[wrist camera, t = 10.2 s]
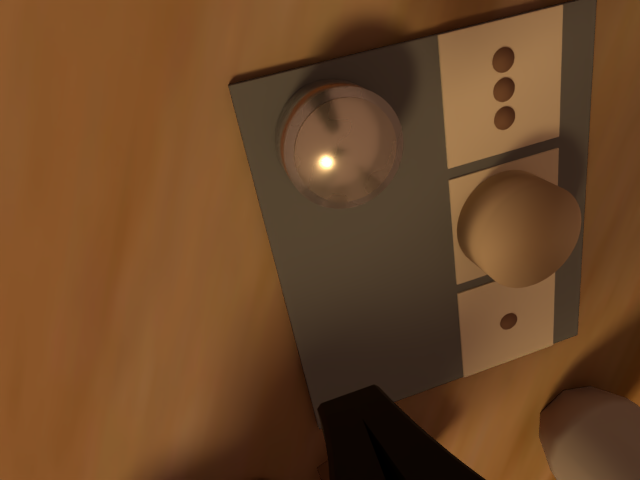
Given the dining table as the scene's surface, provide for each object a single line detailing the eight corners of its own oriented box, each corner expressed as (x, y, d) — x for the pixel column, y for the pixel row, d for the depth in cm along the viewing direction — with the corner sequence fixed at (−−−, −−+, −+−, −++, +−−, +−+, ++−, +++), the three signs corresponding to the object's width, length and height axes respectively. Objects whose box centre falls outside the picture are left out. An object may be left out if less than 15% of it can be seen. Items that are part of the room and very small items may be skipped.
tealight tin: (345, 207, 20) (363, 228, 18) (253, 159, 18) (262, 177, 16) (403, 115, 19) (428, 126, 17) (311, 56, 17) (327, 61, 15)
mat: (317, 424, 25) (320, 431, 24) (227, 84, 17) (229, 86, 17) (573, 331, 27) (578, 336, 26) (590, -4, 19) (599, -4, 19)
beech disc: (460, 278, 23) (486, 302, 21) (452, 187, 21) (479, 205, 19) (548, 247, 23) (579, 267, 22) (548, 156, 21) (583, 170, 20)
